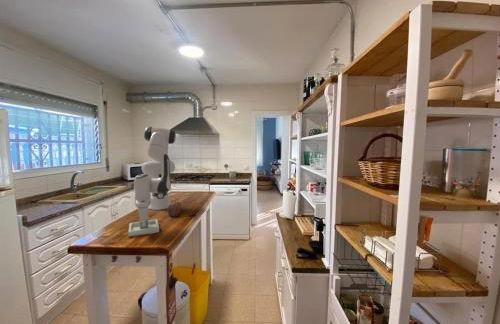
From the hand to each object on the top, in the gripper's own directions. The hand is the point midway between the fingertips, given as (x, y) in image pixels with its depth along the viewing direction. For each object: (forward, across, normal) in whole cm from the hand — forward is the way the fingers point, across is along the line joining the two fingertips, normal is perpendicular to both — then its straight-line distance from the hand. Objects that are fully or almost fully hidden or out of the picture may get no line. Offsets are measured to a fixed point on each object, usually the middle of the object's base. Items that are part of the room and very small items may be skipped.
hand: (143, 223), depth 134 cm
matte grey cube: (+3, 0, 0) cm, 3 cm away
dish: (+4, 0, 0) cm, 4 cm away
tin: (+4, -24, +21) cm, 32 cm away
